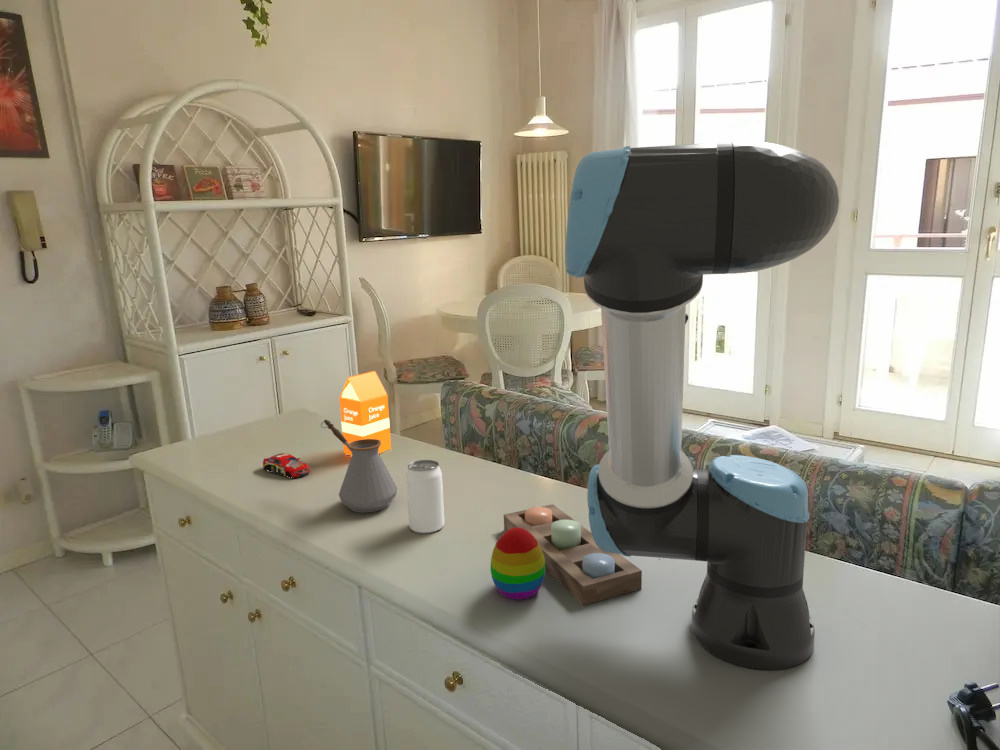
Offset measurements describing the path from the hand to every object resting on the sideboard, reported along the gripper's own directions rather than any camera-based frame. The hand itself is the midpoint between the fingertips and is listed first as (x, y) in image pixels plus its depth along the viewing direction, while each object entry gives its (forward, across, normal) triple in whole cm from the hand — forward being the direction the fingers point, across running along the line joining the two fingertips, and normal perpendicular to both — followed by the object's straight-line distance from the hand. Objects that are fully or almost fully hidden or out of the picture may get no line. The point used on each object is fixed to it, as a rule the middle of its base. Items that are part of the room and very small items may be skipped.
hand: (656, 407), depth 117 cm
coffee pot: (+23, +40, +45) cm, 64 cm away
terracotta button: (+22, +8, +19) cm, 30 cm away
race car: (+23, +64, +56) cm, 88 cm away
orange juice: (+23, +68, +36) cm, 80 cm away
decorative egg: (+23, -8, +30) cm, 39 cm away
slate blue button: (+22, -12, +19) cm, 32 cm away
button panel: (+22, -2, +19) cm, 29 cm away
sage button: (+21, -2, +19) cm, 28 cm away
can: (+23, +20, +36) cm, 47 cm away
